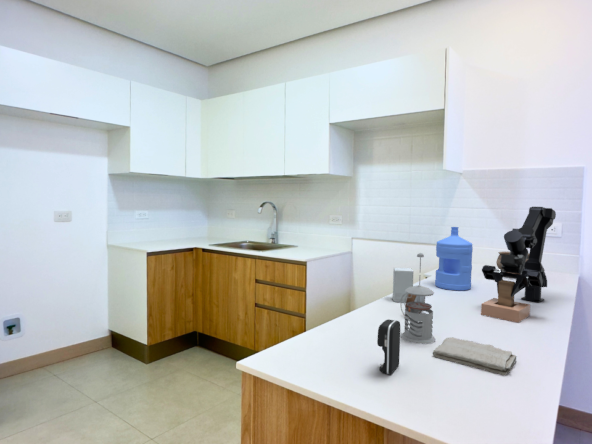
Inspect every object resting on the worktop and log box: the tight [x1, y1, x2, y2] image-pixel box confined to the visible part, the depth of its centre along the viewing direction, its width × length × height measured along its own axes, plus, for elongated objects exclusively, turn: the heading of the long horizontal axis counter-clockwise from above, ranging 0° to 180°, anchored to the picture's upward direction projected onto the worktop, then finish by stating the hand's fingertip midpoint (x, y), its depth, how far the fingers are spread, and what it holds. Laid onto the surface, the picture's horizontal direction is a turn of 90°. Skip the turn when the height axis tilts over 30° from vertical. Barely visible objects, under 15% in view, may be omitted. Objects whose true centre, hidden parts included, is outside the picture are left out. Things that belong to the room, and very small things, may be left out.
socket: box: [480, 297, 531, 324], centre depth 136 cm, size 12×12×4 cm
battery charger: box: [376, 319, 401, 375], centre depth 91 cm, size 7×4×11 cm, turn 149°
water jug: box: [434, 226, 474, 291], centre depth 178 cm, size 16×16×28 cm
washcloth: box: [432, 337, 517, 376], centre depth 98 cm, size 12×18×3 cm, turn 52°
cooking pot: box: [496, 251, 530, 271], centre depth 206 cm, size 25×19×12 cm
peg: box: [497, 279, 516, 307], centre depth 135 cm, size 4×4×11 cm
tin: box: [405, 294, 426, 314], centre depth 137 cm, size 15×3×8 cm, turn 145°
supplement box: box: [392, 267, 414, 304], centre depth 154 cm, size 7×7×13 cm
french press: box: [400, 252, 436, 345], centre depth 113 cm, size 10×12×25 cm
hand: (504, 294), depth 134 cm, fingers closed on peg, 4 cm apart
